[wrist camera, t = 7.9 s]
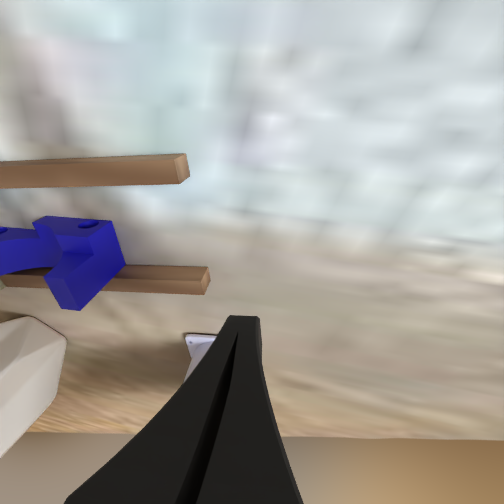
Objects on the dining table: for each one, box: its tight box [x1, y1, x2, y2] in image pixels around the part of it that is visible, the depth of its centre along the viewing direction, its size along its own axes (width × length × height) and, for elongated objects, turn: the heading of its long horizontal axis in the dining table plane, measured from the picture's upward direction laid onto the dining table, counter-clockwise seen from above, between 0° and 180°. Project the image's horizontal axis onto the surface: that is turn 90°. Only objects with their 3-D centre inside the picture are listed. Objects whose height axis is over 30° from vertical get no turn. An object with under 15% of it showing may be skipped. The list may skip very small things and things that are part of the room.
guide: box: [0, 154, 210, 295], centre depth 19 cm, size 11×22×3 cm, turn 94°
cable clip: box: [0, 216, 126, 311], centre depth 19 cm, size 12×4×6 cm, turn 89°
